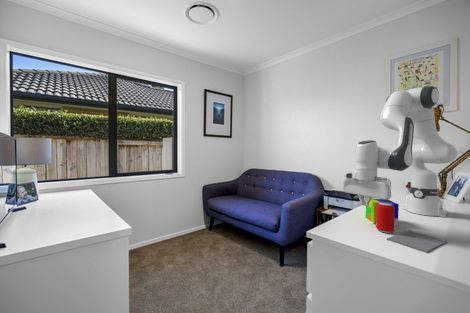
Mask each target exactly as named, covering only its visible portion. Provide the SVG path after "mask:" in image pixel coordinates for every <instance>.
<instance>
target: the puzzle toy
mask: <svg viewBox="0 0 470 313" xmlns="http://www.w3.org/2000/svg"><path fill="white" fill-rule="evenodd" d="M365 201H367V199H366V198H365ZM380 202H386V203H391V204H393V206H394V208H395V217H394V226H399V203H397V202H395V201H393V200H390V199H388V200H384V199H378V198H372V200H371V201H370V202H369V206H365V219H367V220H369V222H370V223H373V224H374V225H376V220H377V205H378V204H379V203H380Z"/></svg>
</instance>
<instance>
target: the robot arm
mask: <svg viewBox="0 0 470 313" xmlns="http://www.w3.org/2000/svg"><path fill="white" fill-rule="evenodd" d="M439 100H440V92H439V90H438V88H437V87H435V86H433V85H426V86H425V85H424V86H423V87H415V88H414V87H413V88H409V89H405V90H396V91H394V92H392V93H391V94H389V96H387V97H386V99H385V103H384V105H383V107H382V110H381V113H380V117H379V121H380V123H381V124H382V125H383V126H384V127H385V128H388V129H390V130H394V131H397V132H399V135H398V141H397V146H395V147H380V146H378V144H377V143H378V142H377V141H376V140H373V139H372V140H370V139H369V140H362V141H359V142H358V143H357V145H356V148H355V156H354V158H355V159H354V160H355V167H354V171H351V172H346V173H344V175H343V176H344V177H343V178H344V179H343V182H342V191H343V193H345V194H346V193H348V194H352V195H353V194H354V195H358V196H357V198H358V199H359V200H360V205H361V206H365V207H366V206H369V202H370V201H371V200H372V199H384V200H390V199H391V198H392V188H391V187H392V181H391V180H390V178H389V179H388V178H387V177H380V176H378V169H381V170H382V169H383V170H392V171H398V172H403V171H405V170H407V169H408V172H409V173H410V186H409V194H407V195H406V198H405V200H406V201H405V206H402V209H403V210H405V211H407V212H409V213H413V214H417V215H422V216H429V217H431V216H432V217H441V218H445V217H446V216H447V215H448V213H449V210H446V209H444V208H443V204H444V202H443V201H442V200H441V198H440V197H439V192H440V188H438V175H437V174H436V172H434V171H433V170H431V169H429V168H427V167H426V166H425V164H438V165H439V164H448V163H449V164H451V163H452V162H454V161H455V160H456V158H458V151H457V148H456V147H455V146H454V145H453V144H450V143H449V142H447V141H446V140H444V139H443V138H442V137H441V135H440V134H439V133H438V129H437V125H436V117H435V116H436V115H435V112H434V111H435V110H434V107H435V105H437V103H438V102H439ZM414 139H416V140H419V141H421V143H414V141H413V140H414ZM364 197H366V198H365V199H364ZM366 199H367V201H366Z"/></svg>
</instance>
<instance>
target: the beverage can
mask: <svg viewBox="0 0 470 313" xmlns="http://www.w3.org/2000/svg"><path fill="white" fill-rule="evenodd" d="M394 217H395V208H394V206H393V204H391V203H386V202H380V203H379V204H378V205H377V220H376V224H375V226H376V227H375V229H376V230H378V231H379V232H380V233H385V234H391V233H394V231H395V225H394Z"/></svg>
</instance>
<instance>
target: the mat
mask: <svg viewBox="0 0 470 313" xmlns="http://www.w3.org/2000/svg"><path fill="white" fill-rule="evenodd" d="M386 240H387V241H389V242H390V241H391V242H393V243H395V244H399V245H402V246H405V247H407V248H408V247H409V248H411V249H414V250H416V251H417V250H418V251H419V252H423V253H425V254H427V253H429V252H431V251H433V250H435V249H438V248H439V247H440V246H443V245H445V244H446V243H448V240H446V239H442V238H438V237H435V236H432V235H427V234H423V233H420V232H416V231H412V230H406V231H403V232H401V233H398V234H395V235H393V236H390V237H387V238H386ZM444 243H445V244H444Z"/></svg>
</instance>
